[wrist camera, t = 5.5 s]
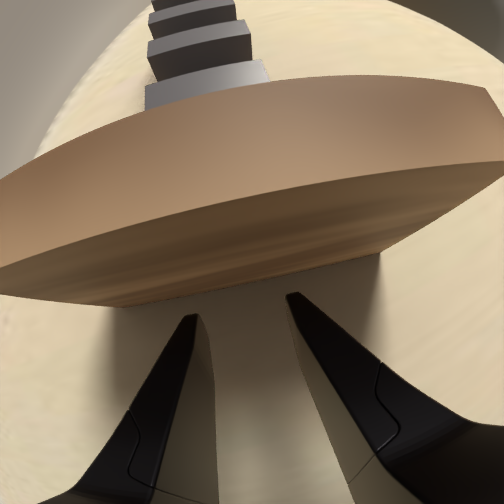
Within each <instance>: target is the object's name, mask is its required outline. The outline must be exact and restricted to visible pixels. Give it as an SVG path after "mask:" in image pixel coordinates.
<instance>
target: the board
mask: <svg viewBox="0 0 504 504" xmlns="http://www.w3.org/2000/svg"><path fill="white" fill-rule="evenodd" d="M503 175H504V117H503V116H502V114H501V112H500V111H499V109H498V107H497V106H496V104H495V103H494V101H493V100H492V98H491V96H490V95H489V93H488V92H487V90H486V89H485V88H483V87H478V86H473V85H468V84H462V83H456V82H450V81H443V80H435V79H426V78H416V77H402V76H381V75H344V76H322V77H308V78H297V79H288V80H279V81H272V82H265V83H258V84H252V85H246V86H240V87H235V88H230V89H225V90H220V91H216V92H211V93H207V94H203V95H198V96H194V97H190V98H187V99H183V100H179V101H176V102H172V103H169V104H165V105H162V106H159V107H156V108H152V109H149V110H146V111H143V112H140V113H137V114H134V115H132V116H129V117H126V118H123V119H121V120H118V121H115V122H113V123H110V124H108V125H105V126H103V127H100V128H98V129H95V130H93V131H91V132H88V133H86V134H84V135H82V136H79V137H77V138H75V139H73V140H71V141H69V142H67V143H65V144H63V145H61V146H58V147H56V148H55V149H53V150H51V151H49V152H47V153H45V154H43V155H41V156H39V157H37V158H36V159H34V160H32V161H30V162H29V163H27V164H25V165H23V166H22V167H20V168H19V169H17V170H15V171H13V172H12V173H10V174H9V175H7V176H6V177H4V178H2V179H1V180H0V294H2V295H8V296H15V297H22V298H30V299H37V300H46V301H54V302H63V303H73V304H84V305H95V306H107V307H121V308H124V307H130V306H135V305H141V304H146V303H152V302H157V301H162V300H168V299H173V298H178V297H183V296H188V295H193V294H198V293H203V292H208V291H213V290H218V289H223V288H228V287H232V286H237V285H242V284H247V283H251V282H256V281H260V280H265V279H270V278H274V277H279V276H283V275H288V274H292V273H296V272H301V271H305V270H309V269H314V268H318V267H322V266H326V265H331V264H335V263H339V262H343V261H347V260H351V259H355V258H359V257H363V256H367V255H371V254H375V253H379V252H382V251H383V250H385V249H387V248H389V247H391V246H392V245H394V244H396V243H398V242H399V241H401V240H403V239H404V238H406V237H408V236H410V235H411V234H413V233H415V232H416V231H418V230H420V229H421V228H423V227H425V226H426V225H428V224H430V223H431V222H433V221H435V220H436V219H438V218H439V217H441V216H443V215H444V214H446V213H448V212H449V211H451V210H452V209H454V208H455V207H457V206H459V205H460V204H462V203H463V202H465V201H466V200H468V199H469V198H471V197H472V196H474V195H475V194H477V193H478V192H480V191H481V190H483V189H484V188H486V187H487V186H489V185H490V184H492V183H493V182H495V181H496V180H498V179H499V178H500V177H502V176H503Z"/></svg>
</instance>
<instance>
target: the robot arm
mask: <svg viewBox="0 0 504 504" xmlns="http://www.w3.org/2000/svg"><path fill="white" fill-rule="evenodd" d="M285 303H286V310H287V317H288V321H289V325H290V329H291V333H292V337H293V341H294V345H295V348H296V352H297V356H298V360H299V364H300V367H301V370H302V372H303V375H304V377H305V380H306V382H307V385H308V387H309V390H310V392H311V395H312V397H313V400H314V402H315V405H316V407H317V410H318V412H319V415H320V417H321V420H322V422H323V425H324V427H325V430H326V432H327V435H328V437H329V440H330V442H331V445H332V447H333V450H334V452H335V455H336V457H337V460H338V462H339V465H340V467H341V470H342V472H343V475H344V477H345V480H346V482H347V484H348V487H349V490H350V492H351V495H352V497H353V500H354V502H355V504H504V426H499V425H490V424H482V423H477V422H473V421H470V420H468V419H466V418H463V417H461V416H460V415H458V414H456V413H455V412H453V411H451V410H450V409H448V408H447V407H445V406H443V405H442V404H440V403H439V402H437V401H435V400H434V399H432V398H431V397H429V396H428V395H426V394H424V393H423V392H421V391H420V390H418V389H417V388H415V387H414V386H413V385H411V384H410V383H408V382H407V381H405V380H404V379H403V378H402V377H400V376H399V375H398V374H397V373H395V372H394V371H393V370H392V369H390V368H389V367H388V366H387V365H386V364H384V363H383V362H381V361H380V359H378V358H377V357H376V356H375V355H374V354H372V353H371V352H370V351H369V350H368V349H367V348H365V347H364V346H363V345H362V344H361V343H359V342H358V341H357V340H356V339H355V338H353V337H352V336H351V335H350V334H349V333H348V332H346V331H345V330H344V329H343V328H342V327H340V326H339V325H338V324H337V323H336V322H334V321H333V320H332V319H331V318H330V317H329V316H327V315H326V314H325V313H324V312H323V311H321V310H320V309H319V308H318V307H317V306H315V305H314V304H313V303H312V302H311V301H310V300H308V299H307V298H306V297H305V296H304V295H302V294H301V293H300V292H293V293H289V294H286V295H285ZM38 504H219V492H218V474H217V453H216V424H215V385H214V375H213V368H212V361H211V353H210V345H209V338H208V334H207V331H206V328H205V326H204V324H203V322H202V319H201V317H200V315H199V314H197V313H195V314H190V315H186V316H184V317H183V319H182V320H181V322H180V324H179V325H178V327H177V328H176V330H175V332H174V333H173V335H172V336H171V338H170V340H169V341H168V343H167V345H166V346H165V348H164V350H163V351H162V353H161V354H160V356H159V358H158V359H157V361H156V363H155V364H154V366H153V368H152V369H151V371H150V373H149V374H148V376H147V378H146V379H145V381H144V383H143V384H142V386H141V388H140V389H139V391H138V393H137V394H136V396H135V398H134V399H133V401H132V403H131V405H130V406H129V410H127V411H126V413H125V415H124V416H123V418H122V420H121V421H120V423H119V425H118V426H117V428H116V429H115V431H114V433H113V434H112V436H111V437H110V439H109V440H108V442H107V443H106V444H105V446H104V447H103V449H102V450H101V452H100V453H99V454H98V456H97V457H96V458H95V460H94V461H93V462H92V464H91V465H90V467H89V468H88V469H87V471H86V472H85V473H84V475H83V476H82V477H81V479H80V480H79V481H78V482H77V483H76V484H75V485H74V486H73V487H72V488H71V489H69V490H68V491H66V492H64V493H62V494H60V495H58V496H55V497H53V498H50V499H48V500H46V501H43V502H41V503H38Z"/></svg>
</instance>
